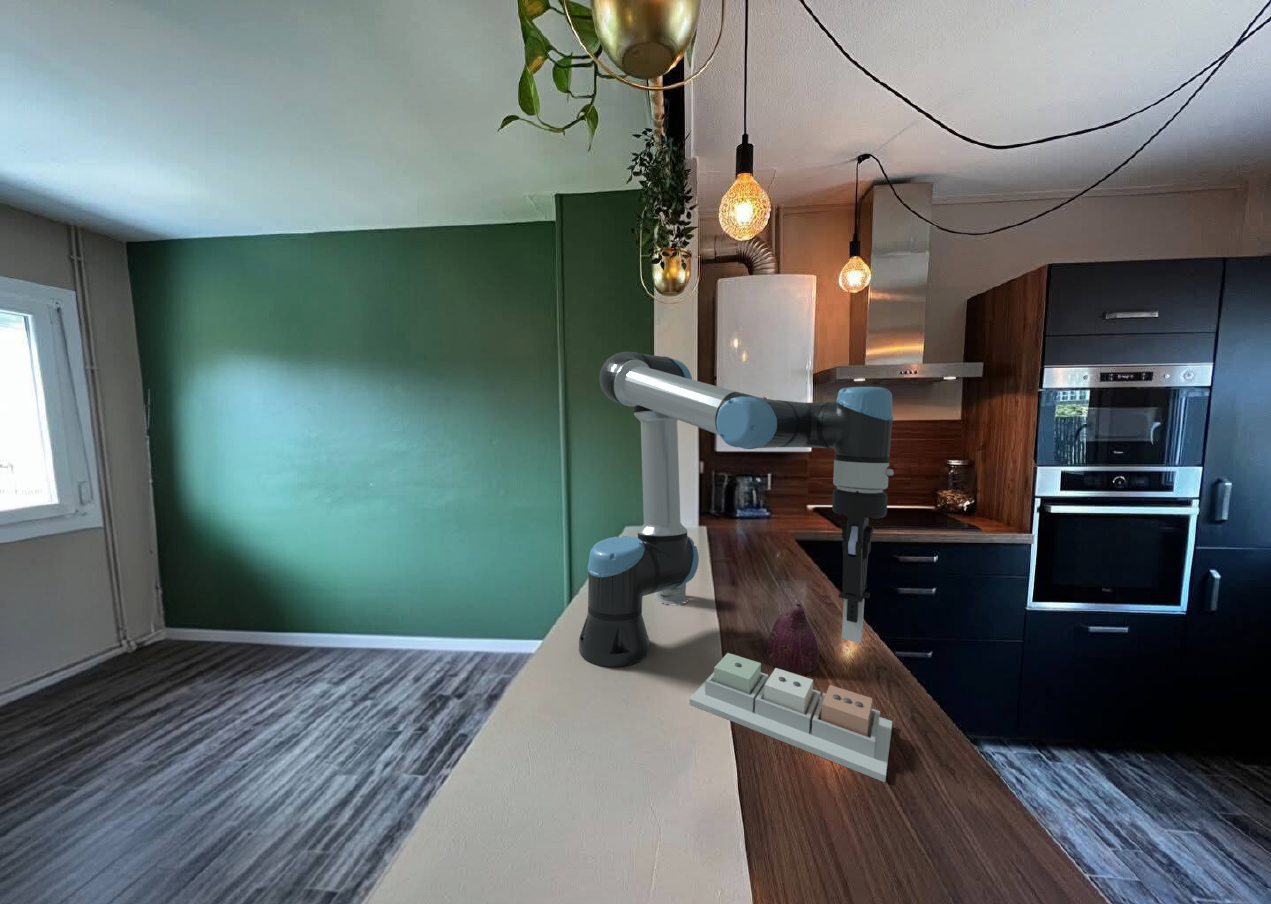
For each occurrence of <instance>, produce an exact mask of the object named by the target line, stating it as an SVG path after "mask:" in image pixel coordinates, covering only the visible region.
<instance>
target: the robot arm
mask: <svg viewBox="0 0 1271 904" xmlns="http://www.w3.org/2000/svg"><path fill="white" fill-rule="evenodd" d="M692 377H693V376H692V374H691V371H690V370H689V368H688V367H687V366H686V365H685V364H684V363H683V362H682V361H680V360H678V359H675V358H672V357H669V356H660V355H652V354H647V353H640V352H636V351H622V352H621V351H620V352H617V353H614V354H613V355H612V356H610V357H609V358H608V359H606V361H604V363H603V364H602V366H601V369H600V372H599V378H598V379H599V384H600V389H601V391H602V393H604V395H605V396H606V397H607V398H608V399H609V400H611V401H613V402H614V403H616V404H617V403H618V404H620V405H622V406H627V407H633V416H634V417H635V418H637V420H638V421H639V422H640V440H641V441H640V443H641V444H640V445H641V446H640V447H641V448H640V449H641V471H642V472H641V473H642V474H641V475H642V477H641V479H642V502H643V503H642V507H643V511H642V512H643V524H642V526H641V527H640V528H639V529H638V530H637V537H635V536H628V535H623V536H612V537H609V538H608V537H607V538H604V539H602V540H599V541H598V542H596V543H595V544H594V545H593V546H592V547H591V549H590V552H589V557H588V558H589V559H588V564H587V570H588V582H587V583H588V585H587V586H588V589H587V590H588V591H587V593H588V594H587V596H588V597H587V614H586V618H585V621H584V624H583V626H582V630H581V632H580V636H579V639H578V651H579V654H580V656H581V657H582V658H583V659H585V661H587V662H589V663H592V664H594V665H599V666H601V667H616V668H617V667H625V666H626V667H627V666H630V665H633V664H636V663H639V662H640V661H642V660H644V659H645V658H646V657H647V656H648V654H649V651H650V637H649V635H648V632H647V628H646V624H645V620H644V617H643V597H644V596H648V595H651V594H657V592H659V591H663V590H666V589H672V588H676V587H679V586H680V585H682V584H685V583H686V584H687V583H689V582H690V581H692V579H694V577H693V576H695V575H696V573H697V570H698V567H699V562H700V561H699V559H700V558H699V551H698V547H697V546H696V545H695V542H694V540H693V538H691V537H689V535H688V529H687V528H686V527H685V526H684V525H683V524H682V523H681V498H680V469H679V468H680V466H679V465H680V464H679V438H678V437H679V435H678V433H679V432H678V421H680V422H684V423H686V424H689V425H691V426H694V427H698V428H699V429H702V430H705V431H708V432H710V433H713V434H715V435H718V436H720V438H721V439H722V440H723V441H724V443H725V444H727V445H729V446H730V447H733V448H741V449H744V450H756V449H765V448H766V449H769V448H809V449H810V448H815V449H831V450H832V449H834V461H833V477H832V478H833V479H832V480H833V481H832V484H833V485H834V486H835V487H836V488H834V489H833V490H832V503H831V504H832V505H831V506H832V507H831V508H832V511H833V512H834V513H835V514H837V515H840V516H846V517H847V521H846V522H847V523H845V524H844V525H842V529H841V537H842V542H841V546H842V591H841V592H839V594H838V599H842V600H843V607H842V626H841V627H842V628H841V639H842V640H847V641H850V642H854V643H859V644H862V642H863V632H864V630H863V629H864V614H865V613H864V611H865V609H864V608H865V599H866V598H867V599H870V592H866V591H865V590H866V589H867V576H868V575H867V573H868V562H869V554H870V553H871V545H872V544H871V543H872V538H873V535H874V526H870V525H869V523H870V522H869V521H870V519H883V518H885V517H886V516H887V514H888V498H889V497H888V494H887V492H885V491H884V490H886V489H888V488H889V476H894V475H895V474H894V473H895V472H894V469H892V468H889V467H890V461H891V460H890V456H891V454H890V452H891V445H892V444H891V442H892V428H893V421H894V416H893V394H892V392H891V391H890V390H889V389H888V388H885V387H881V386H878V387H877V386H852V387H843V388H841V389H840V390H839V391H838V393H837V398H836V400H835V401H828V402H804V401H803V402H802V401H791V400H790V401H789V400H779V399H770V398H764V397H763V398H762V397H759V396H755V395H751V394H747V393H743V392H740V391H735V390H731V389H728V388H724V387H721V386H716V385H713V384H710V383H706V382H702V381H698V380H695V379H693V378H692Z"/></svg>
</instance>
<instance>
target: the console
mask: <svg viewBox="0 0 1271 904" xmlns="http://www.w3.org/2000/svg"><path fill="white" fill-rule="evenodd" d="M768 679H769V674H766V673H764V672H761V677H760V681H759V682H758V684H757V685H756V686H755V688H754V689H753V691H752V692H751V694H750V695H749V694H746V693H744V692H741V691H738V690H735V689H732V688H730V687H727V686H724V685H721V684H718V683H716V682H714V671H713V672H712V673H711V674H710V675H709V676H708V677H707V678H706V679H705V681H704V682H702V684H701V685H700V686H699V688H698V689H696V691H695V692H694V693H693V694H692V695H691V696H690V697H689V703H688V704H689V706H690V705H691V706H692V707H695V708H698V709H701V710H703V711H705V712H708V713H709V714H710V713H711V714H713V715H715V716H718V715H719V716H718V717H720V716H721V717H720V718H723V717H724V718H723V719H725V718H727V719H726V720H729V721H730V722H733V723H736V724H738V725H739V726H740V725H741V726H743V727H745V728H748V729H750V730H752V731H755V732H758V733H761V734H763V735H766V736H768V737H769V738H773V739H776V740H778V741H780V742H782V743H786V744H788V745H790V746H793V747H795V748H798V749H800V750H803V751H806V752H808V753H810V754H813V755H815V756H817V757H820V758H823V759H826V760H828V761H831V762H833V763H836V764H837V765H841V766H843V767H845V768H848V769H849V770H852V771H855V772H858V773H860V774H863V775H866V776H868V777H870V778H873V779H875V780H878V781H880V782H883V783H886V778H887V772H888V770H887V769H888V763H889V756H890V755H889V754H890V753H889V752H890V745H891V740H892V739H891V738H892V730H893V721H892V720H889V719H887V718H884V717H881V711H880V710H877V709H874V708H872V715H871V721H870V726H869V731H868V736H867V737H866V736H863V735H861V734H858V733H855V732H852V731H850V730H847V729H844V728H841V727H838V726H836V725H833V724H830V723H827V722H824V721H822V720H821V715H822V703H823V701H824V698H825V695H826V693H827V692H826V693H825V692H821V691H819V690H816V689H813V694H812V699H811V701H810V703H809V706H808V708H807V710H806V712H805V714H802V713H799V712H797V711H794V710H791V709H788V708H785V707H783V706H780V705H777V704H774V703H771V702H769V701H766V700H764V688H765V683H766V682H767V680H768ZM821 693H822V694H821Z"/></svg>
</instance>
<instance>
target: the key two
mask: <svg viewBox="0 0 1271 904" xmlns="http://www.w3.org/2000/svg"><path fill="white" fill-rule="evenodd" d="M813 690H814V679H812V678H809V677H805V676H803V675H801V674H797V673H791V672H788V671H785V670H782V669H779V668H776V667H775V668H774V670H773V671H772V673H771V674H770V676H768V680H767V682H766V683H765V688H764V700H766V701H769V702H771V703H774V704H777V705H780V706H783V707H785V708H788V709H791V710H794V711H797V712H799V713H802V714H805V712H806V710H807V708H808V706H809V703H810V701H811V699H812V694H813Z"/></svg>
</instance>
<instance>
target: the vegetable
mask: <svg viewBox="0 0 1271 904" xmlns="http://www.w3.org/2000/svg"><path fill="white" fill-rule="evenodd" d="M806 616H807V615H806V611H805V609H804V607H803V605H801V604H800V603H799V602H797V603H796V604H793V605H792V606H791V607H790V608H789V609H787V610H785V611H784V612H782V613H781V614H780V615H779V616H778V618H777V619H776V620H775V622H774V625H773V627H772V629H771V632H770V635H769V638H768V642H767V649H766V660H767V662H768V663H769V664H770V665H771V666H773V667H775V668H778V669H781V670H784V671H787V672H790V673H793V674H797V675H802V674H805V675H806V674H809V673H811V672H814V671H815V670H817V667H818V659H819V650H818V649H819V648H818V647H819V645H818V642H817V641H818V640H817V638H816V636H815V633H814V631H813V629H812V627H811V625H810V623H809V622H808V620H807V617H806Z"/></svg>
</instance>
